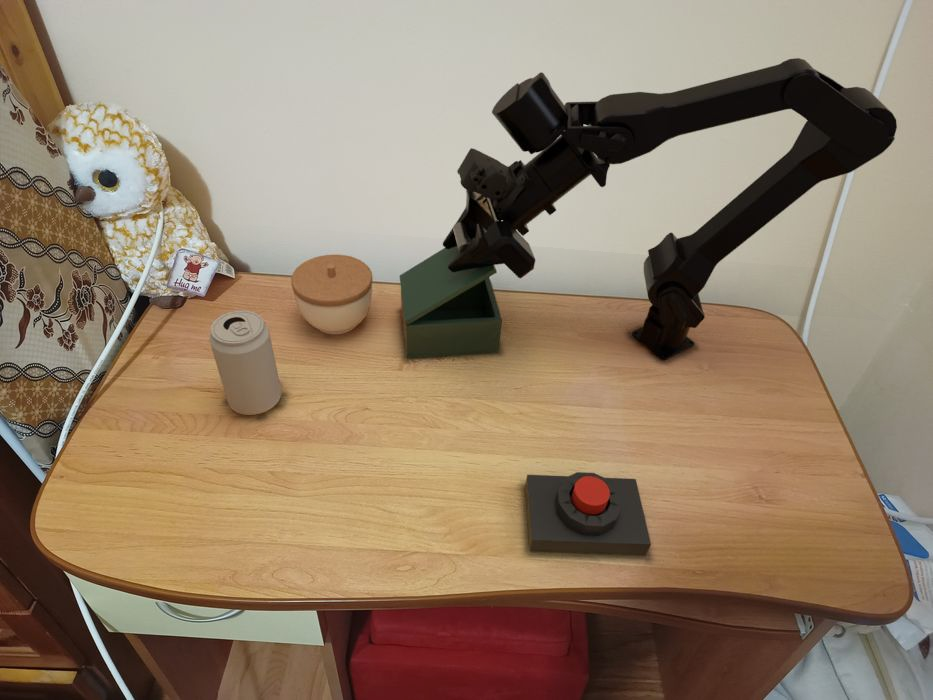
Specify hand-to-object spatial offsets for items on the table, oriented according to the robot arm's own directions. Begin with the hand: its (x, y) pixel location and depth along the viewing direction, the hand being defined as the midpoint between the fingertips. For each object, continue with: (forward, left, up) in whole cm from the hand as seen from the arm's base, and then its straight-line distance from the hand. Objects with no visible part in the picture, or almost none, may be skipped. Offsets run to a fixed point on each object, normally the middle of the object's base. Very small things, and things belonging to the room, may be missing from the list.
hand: (447, 257), depth 80 cm
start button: (+3, +34, -9) cm, 35 cm away
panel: (+3, +34, -13) cm, 36 cm away
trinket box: (+12, -10, -13) cm, 20 cm away
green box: (-1, 0, -13) cm, 13 cm away
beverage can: (+27, -1, -13) cm, 30 cm away
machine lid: (0, 0, -3) cm, 3 cm away
